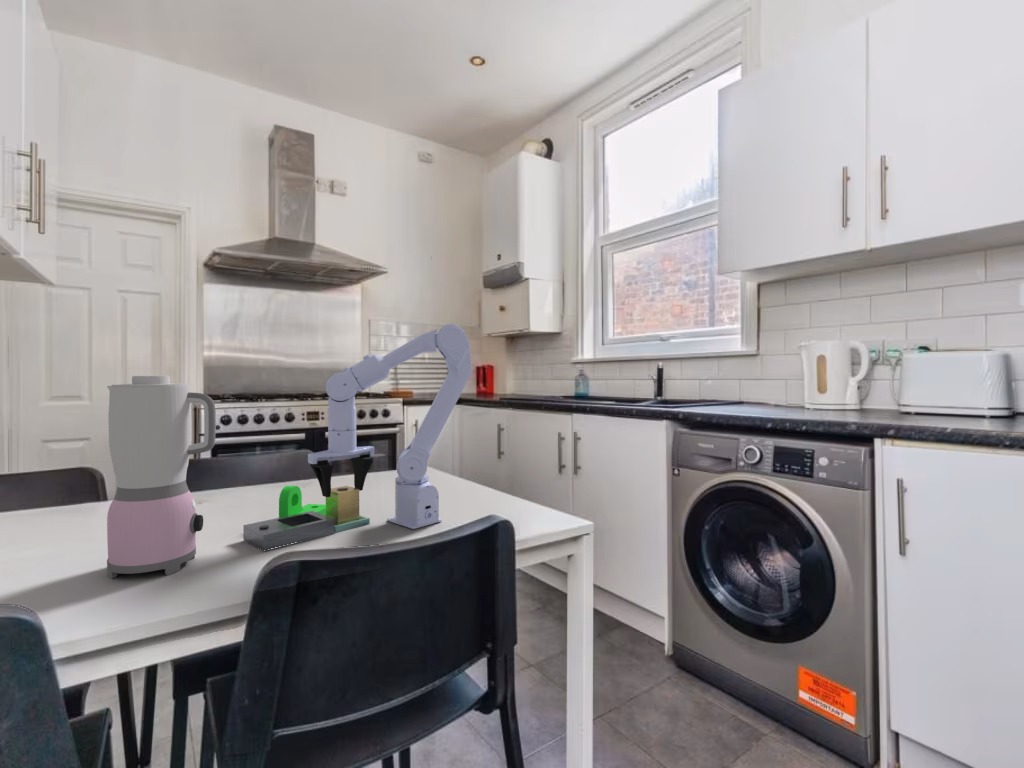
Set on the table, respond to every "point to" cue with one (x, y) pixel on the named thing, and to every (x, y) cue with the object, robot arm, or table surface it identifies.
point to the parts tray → (352, 524)
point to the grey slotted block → (288, 530)
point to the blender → (153, 474)
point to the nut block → (343, 505)
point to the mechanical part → (296, 503)
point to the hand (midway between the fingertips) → (343, 492)
